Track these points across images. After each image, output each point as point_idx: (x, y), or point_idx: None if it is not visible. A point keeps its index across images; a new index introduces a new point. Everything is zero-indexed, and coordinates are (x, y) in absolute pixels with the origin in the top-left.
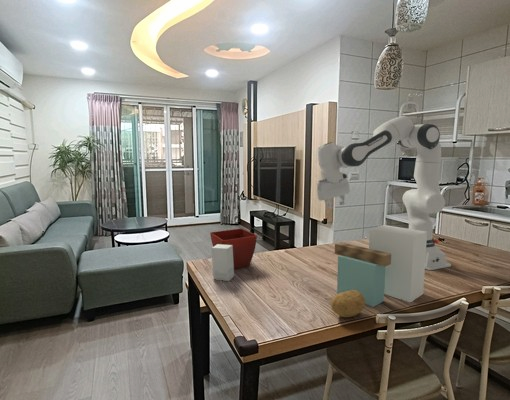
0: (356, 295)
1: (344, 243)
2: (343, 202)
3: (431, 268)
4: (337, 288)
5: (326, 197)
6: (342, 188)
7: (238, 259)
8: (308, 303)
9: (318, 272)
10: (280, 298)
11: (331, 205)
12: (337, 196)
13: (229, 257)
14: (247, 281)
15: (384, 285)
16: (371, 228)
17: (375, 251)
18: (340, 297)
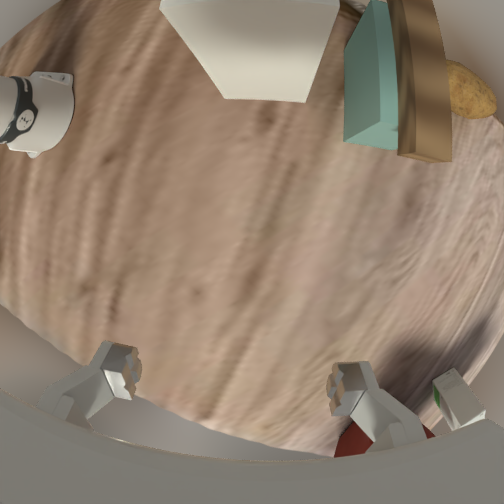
0: (463, 70)
1: (420, 128)
2: (113, 357)
3: (69, 74)
4: (397, 148)
5: (482, 439)
6: (34, 501)
7: None
8: (465, 180)
9: (292, 271)
10: (476, 240)
11: (357, 382)
12: (224, 459)
13: (470, 399)
14: (441, 347)
15: (353, 33)
16: (321, 2)
17: (416, 5)
18: (490, 96)
